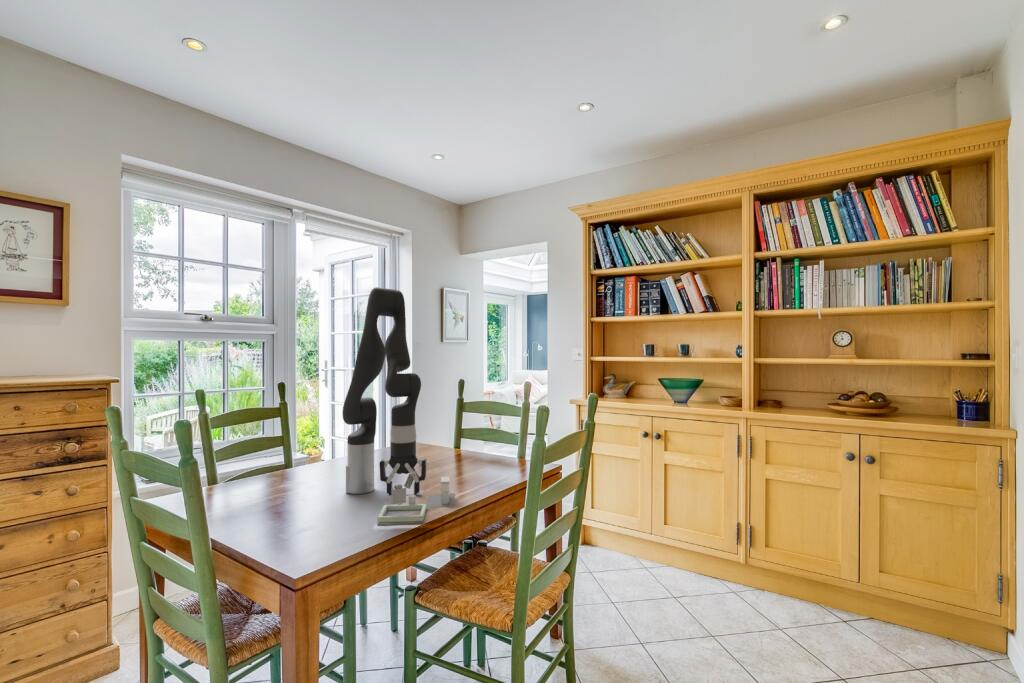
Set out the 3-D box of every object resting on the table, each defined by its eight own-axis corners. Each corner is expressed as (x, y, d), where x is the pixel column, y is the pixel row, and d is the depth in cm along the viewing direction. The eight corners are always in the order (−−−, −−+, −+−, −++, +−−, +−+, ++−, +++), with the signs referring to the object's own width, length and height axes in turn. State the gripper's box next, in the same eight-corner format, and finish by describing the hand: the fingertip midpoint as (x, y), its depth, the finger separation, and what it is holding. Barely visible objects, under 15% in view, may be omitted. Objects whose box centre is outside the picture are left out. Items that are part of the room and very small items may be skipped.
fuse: (440, 503, 158) (440, 481, 158) (441, 497, 164) (441, 476, 164) (448, 502, 158) (449, 481, 158) (449, 497, 164) (449, 476, 164)
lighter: (392, 504, 145) (392, 477, 145) (390, 502, 146) (390, 476, 146) (415, 500, 149) (415, 473, 149) (413, 498, 150) (413, 472, 150)
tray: (377, 526, 141) (377, 517, 141) (384, 513, 152) (384, 505, 152) (422, 524, 142) (422, 516, 142) (426, 511, 153) (426, 503, 153)
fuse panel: (395, 512, 153) (395, 496, 153) (402, 498, 167) (402, 484, 167) (453, 510, 154) (453, 495, 154) (455, 496, 168) (455, 482, 168)
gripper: (376, 442, 143) (376, 499, 143) (426, 441, 144) (426, 497, 144) (381, 437, 151) (381, 491, 150) (428, 436, 152) (428, 490, 152)
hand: (403, 494), depth 147 cm, fingers closed on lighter, 7 cm apart
